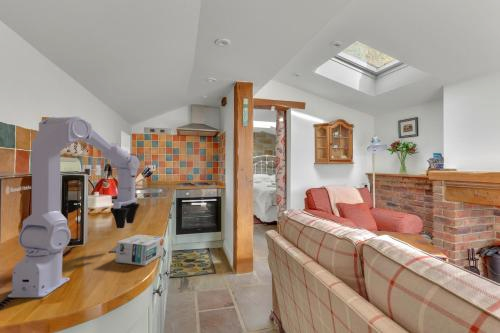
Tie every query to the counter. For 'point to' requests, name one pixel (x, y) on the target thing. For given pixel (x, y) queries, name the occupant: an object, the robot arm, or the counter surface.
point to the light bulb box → (139, 249)
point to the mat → (113, 249)
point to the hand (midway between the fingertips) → (125, 225)
